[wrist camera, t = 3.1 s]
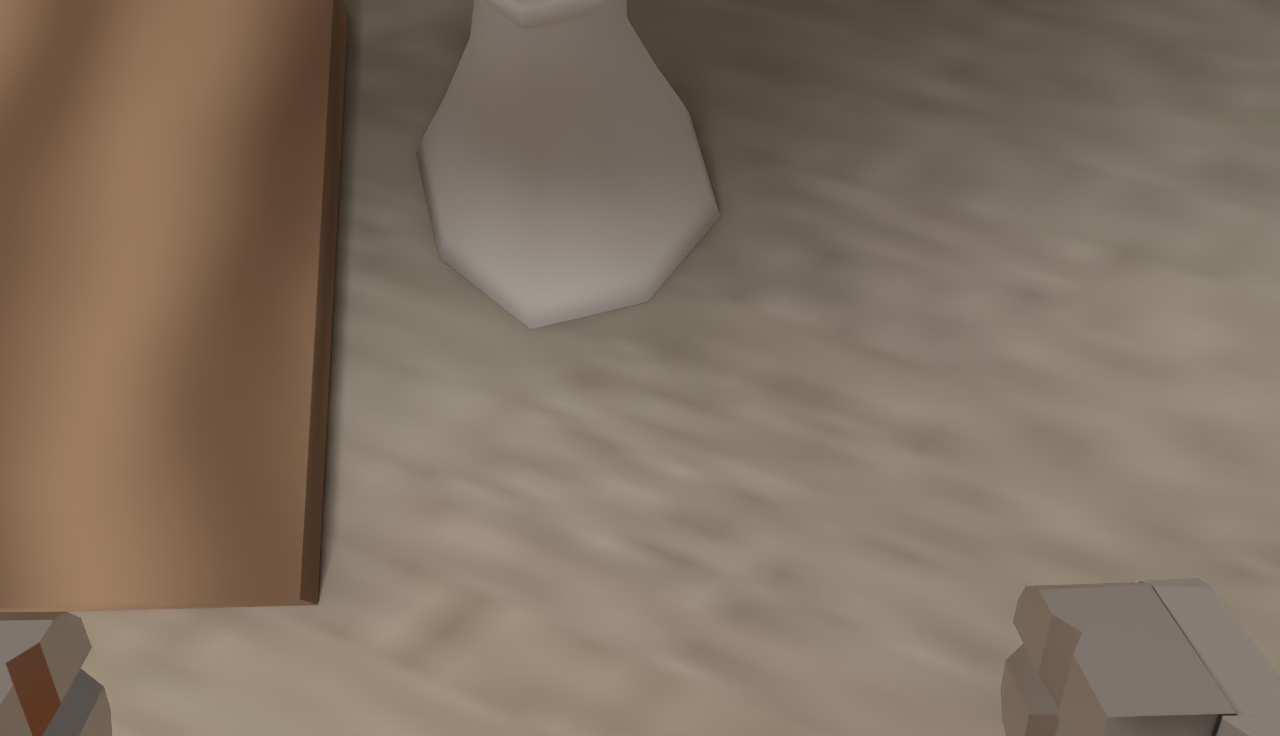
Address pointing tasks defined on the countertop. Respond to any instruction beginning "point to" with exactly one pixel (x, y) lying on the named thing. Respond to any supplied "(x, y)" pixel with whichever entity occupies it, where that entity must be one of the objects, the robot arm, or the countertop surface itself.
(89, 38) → the walnut board
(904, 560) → the countertop surface
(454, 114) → the flask
